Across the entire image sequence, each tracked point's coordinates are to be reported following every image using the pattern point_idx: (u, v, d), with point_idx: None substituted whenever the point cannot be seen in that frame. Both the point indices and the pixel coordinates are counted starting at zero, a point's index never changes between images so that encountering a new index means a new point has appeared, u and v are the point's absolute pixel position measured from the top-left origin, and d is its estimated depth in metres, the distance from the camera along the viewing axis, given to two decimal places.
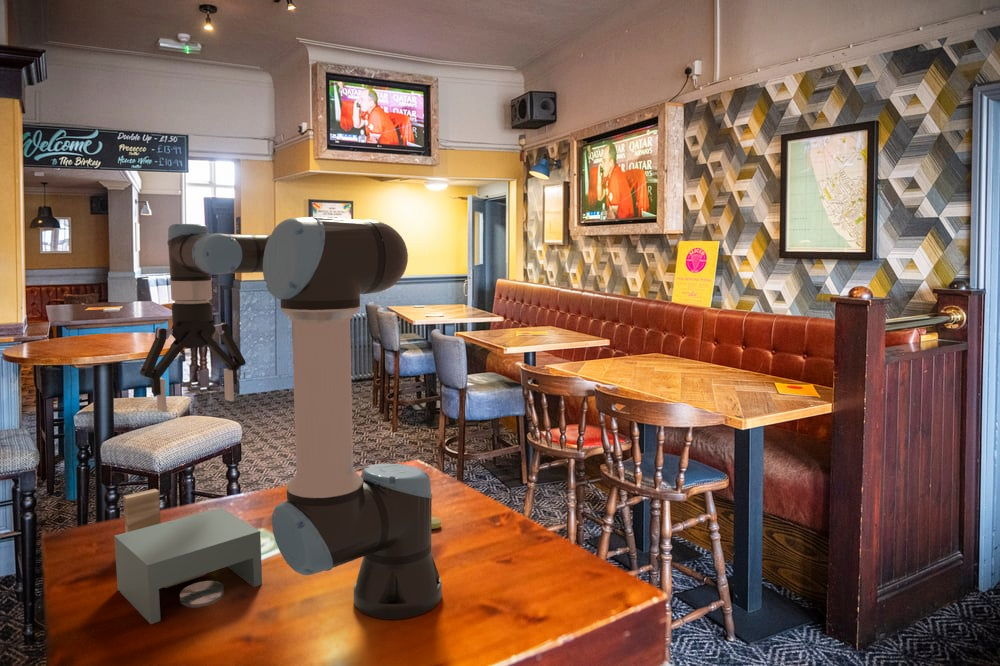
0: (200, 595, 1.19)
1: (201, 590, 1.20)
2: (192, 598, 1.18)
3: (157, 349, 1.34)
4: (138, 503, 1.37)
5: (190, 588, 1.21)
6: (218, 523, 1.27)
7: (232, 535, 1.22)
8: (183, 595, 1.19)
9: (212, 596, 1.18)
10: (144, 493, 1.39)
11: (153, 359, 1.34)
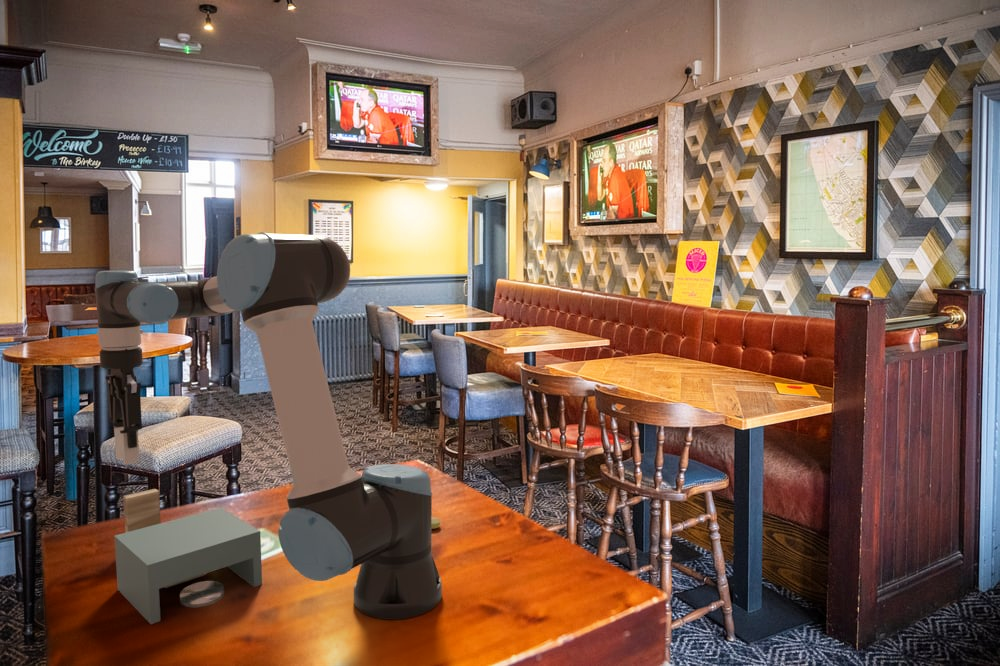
0: (200, 595, 1.19)
1: (201, 590, 1.20)
2: (192, 598, 1.18)
3: (108, 395, 1.44)
4: (138, 503, 1.37)
5: (190, 588, 1.21)
6: (218, 523, 1.27)
7: (232, 535, 1.22)
8: (183, 595, 1.19)
9: (212, 596, 1.18)
10: (144, 493, 1.39)
11: (109, 405, 1.44)
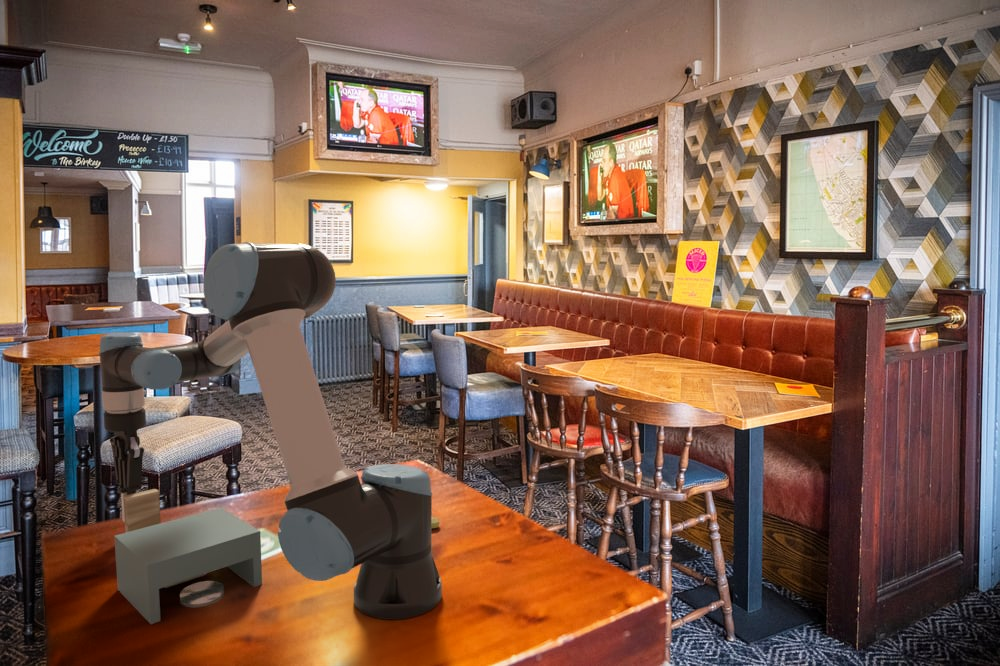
0: (200, 595, 1.19)
1: (201, 590, 1.20)
2: (192, 598, 1.18)
3: (113, 457, 1.45)
4: (138, 503, 1.37)
5: (190, 588, 1.21)
6: (218, 523, 1.27)
7: (232, 535, 1.22)
8: (183, 595, 1.19)
9: (212, 596, 1.18)
10: (144, 493, 1.39)
11: (115, 467, 1.45)
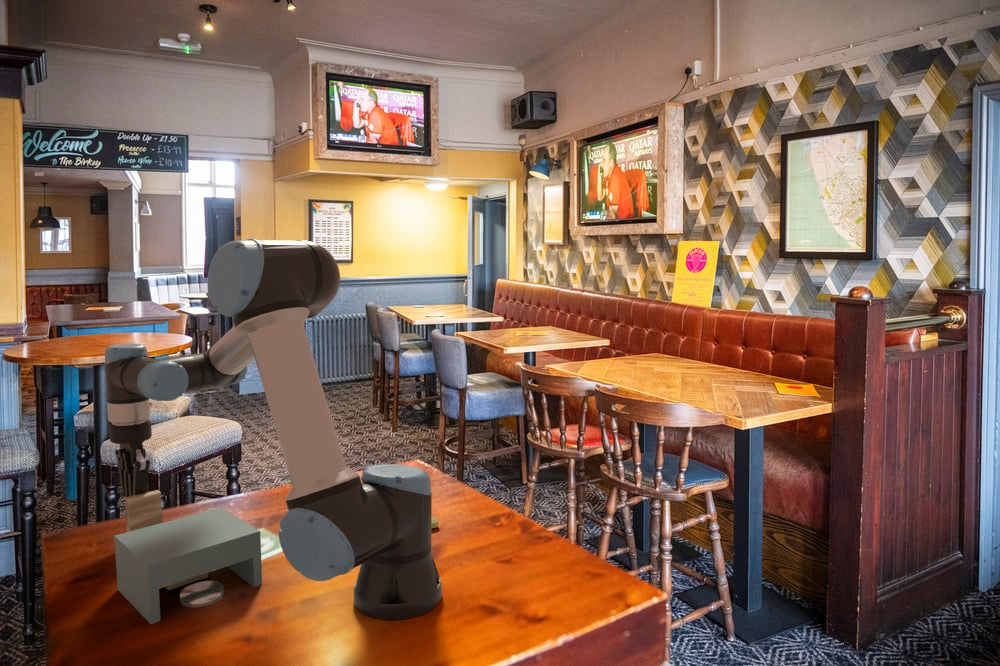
0: (200, 595, 1.19)
1: (201, 590, 1.20)
2: (192, 598, 1.18)
3: (119, 469, 1.43)
4: (140, 504, 1.37)
5: (190, 588, 1.21)
6: (218, 523, 1.27)
7: (232, 535, 1.22)
8: (183, 595, 1.19)
9: (212, 596, 1.18)
10: (146, 494, 1.38)
11: (120, 479, 1.43)
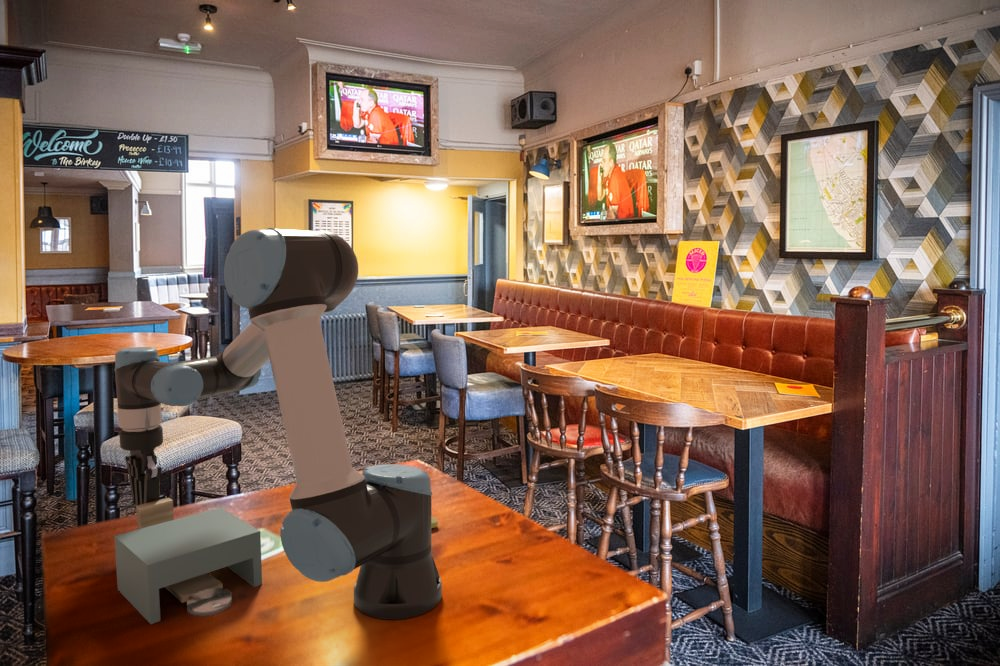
0: (207, 603, 1.16)
1: (208, 597, 1.18)
2: (199, 606, 1.15)
3: (129, 476, 1.39)
4: (151, 513, 1.32)
5: (198, 595, 1.18)
6: (218, 523, 1.27)
7: (232, 535, 1.22)
8: (190, 603, 1.16)
9: (219, 604, 1.15)
10: (157, 502, 1.33)
11: (131, 487, 1.39)
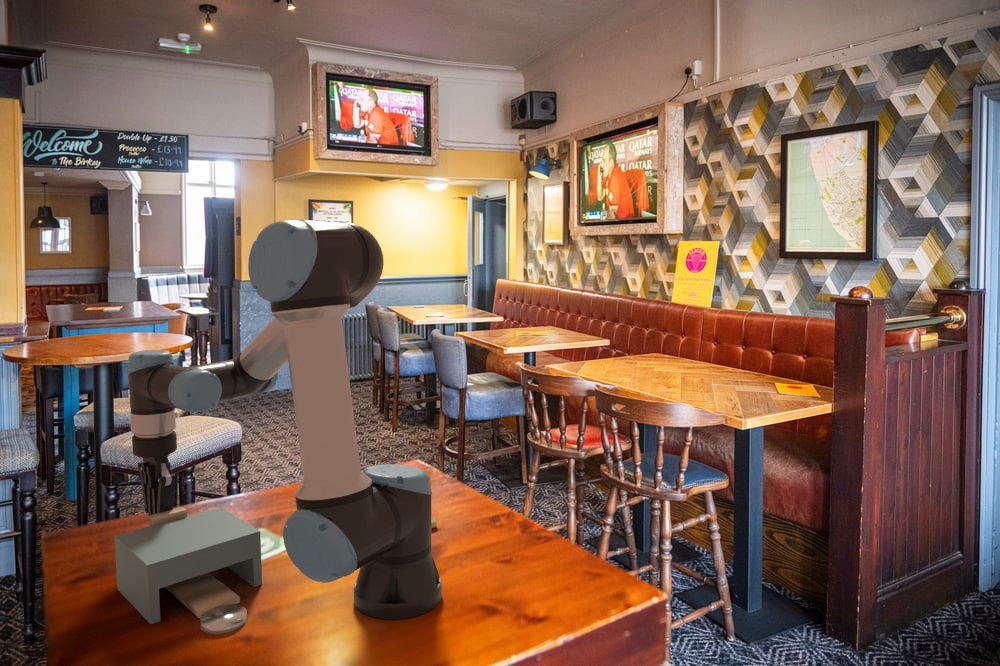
0: (220, 621, 1.11)
1: (222, 614, 1.13)
2: (211, 624, 1.10)
3: (142, 484, 1.34)
4: None
5: (213, 611, 1.14)
6: (218, 523, 1.27)
7: (232, 535, 1.22)
8: (203, 619, 1.11)
9: (232, 623, 1.10)
10: (171, 512, 1.29)
11: (143, 494, 1.34)
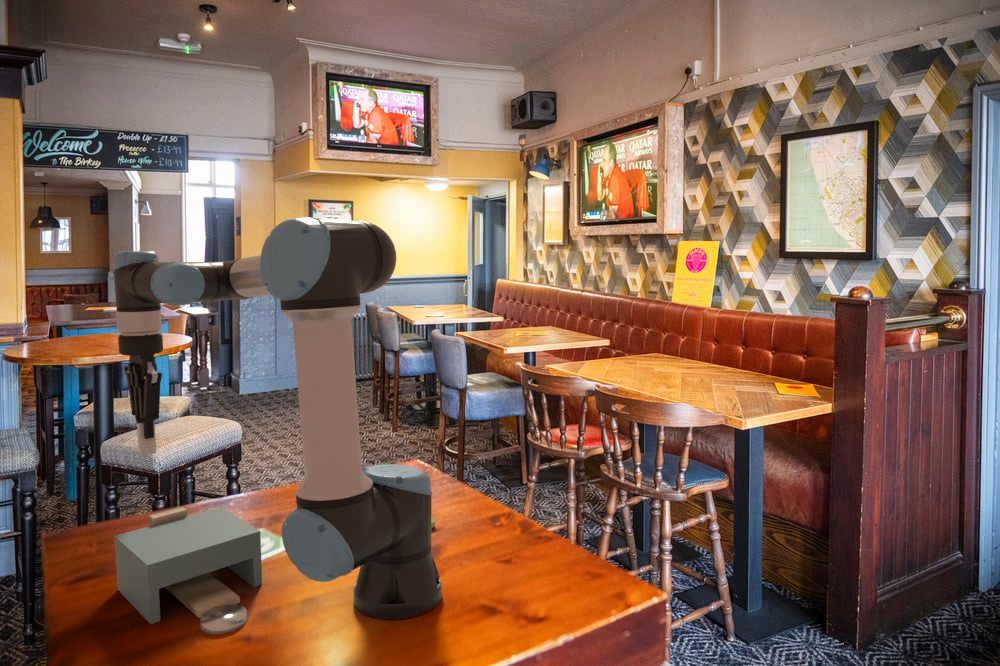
0: (220, 621, 1.11)
1: (222, 614, 1.13)
2: (211, 624, 1.10)
3: (128, 387, 1.35)
4: None
5: (213, 611, 1.14)
6: (218, 523, 1.27)
7: (232, 535, 1.22)
8: (203, 619, 1.11)
9: (232, 623, 1.10)
10: (171, 512, 1.29)
11: (130, 397, 1.35)
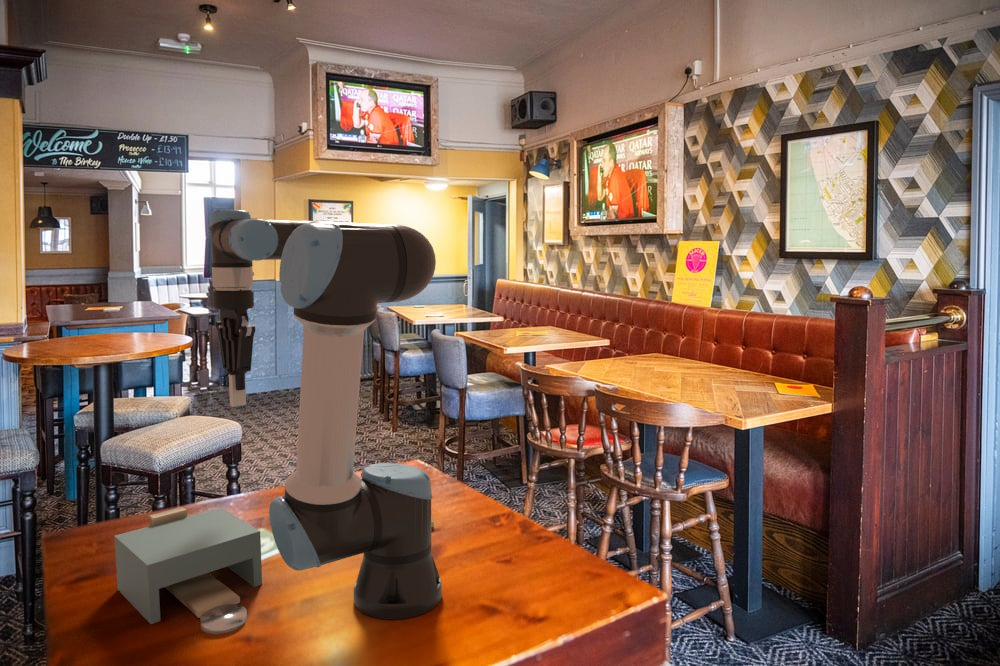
0: (220, 621, 1.11)
1: (222, 614, 1.13)
2: (211, 624, 1.10)
3: (219, 341, 1.41)
4: None
5: (213, 611, 1.14)
6: (218, 523, 1.27)
7: (232, 535, 1.22)
8: (203, 619, 1.11)
9: (232, 623, 1.10)
10: (171, 512, 1.29)
11: (221, 351, 1.41)
